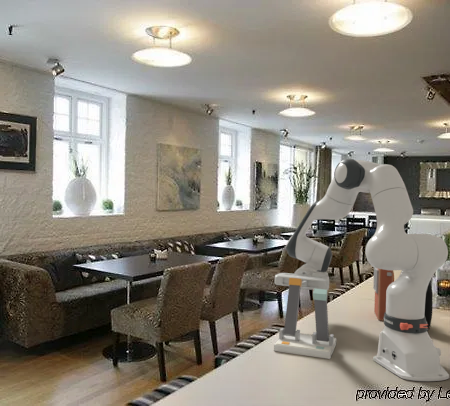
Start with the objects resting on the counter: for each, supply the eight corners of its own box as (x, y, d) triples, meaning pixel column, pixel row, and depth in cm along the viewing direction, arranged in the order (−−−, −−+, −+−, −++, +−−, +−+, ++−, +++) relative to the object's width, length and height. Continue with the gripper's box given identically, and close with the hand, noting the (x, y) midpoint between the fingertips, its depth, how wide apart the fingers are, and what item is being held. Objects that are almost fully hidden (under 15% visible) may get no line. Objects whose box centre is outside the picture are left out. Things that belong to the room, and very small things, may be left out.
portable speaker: (405, 325, 176) (406, 275, 176) (431, 328, 172) (433, 277, 172) (404, 331, 168) (405, 279, 168) (432, 335, 165) (433, 281, 164)
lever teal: (317, 336, 150) (314, 288, 141) (329, 338, 148) (327, 289, 140) (316, 341, 148) (312, 293, 139) (328, 343, 146) (326, 294, 138)
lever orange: (284, 335, 153) (290, 279, 160) (296, 337, 152) (302, 280, 159) (282, 334, 151) (289, 277, 158) (294, 336, 150) (300, 278, 157)
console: (284, 336, 160) (285, 322, 160) (336, 343, 154) (336, 329, 153) (273, 350, 146) (274, 335, 146) (329, 359, 140) (330, 342, 139)
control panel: (388, 312, 195) (394, 322, 180) (371, 311, 196) (376, 321, 181) (389, 262, 194) (395, 268, 179) (372, 262, 195) (377, 267, 181)
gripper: (279, 267, 179) (270, 274, 166) (331, 272, 172) (326, 279, 159) (278, 283, 179) (269, 291, 167) (331, 288, 172) (325, 297, 159)
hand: (297, 285), depth 163 cm, fingers closed
